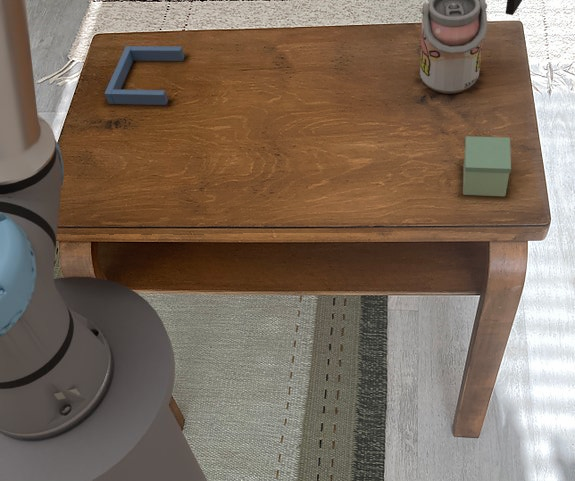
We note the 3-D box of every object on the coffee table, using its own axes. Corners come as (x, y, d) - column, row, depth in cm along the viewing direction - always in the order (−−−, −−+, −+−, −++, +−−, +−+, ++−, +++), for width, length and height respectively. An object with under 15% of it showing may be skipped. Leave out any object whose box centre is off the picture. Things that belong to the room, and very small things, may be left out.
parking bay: (184, 57, 115) (181, 46, 114) (166, 105, 109) (163, 94, 107) (129, 56, 117) (125, 45, 115) (108, 104, 110) (104, 93, 109)
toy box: (462, 195, 92) (465, 167, 88) (462, 164, 95) (465, 136, 91) (506, 197, 91) (511, 168, 87) (505, 166, 94) (510, 137, 90)
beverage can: (484, 99, 102) (494, 25, 93) (422, 104, 103) (425, 31, 93) (475, 56, 108) (483, -18, 98) (416, 61, 109) (418, -12, 99)
